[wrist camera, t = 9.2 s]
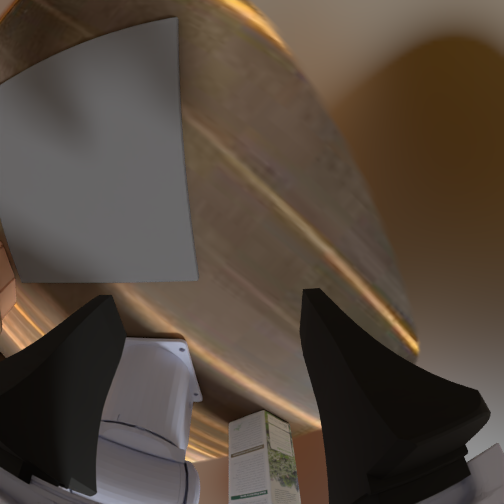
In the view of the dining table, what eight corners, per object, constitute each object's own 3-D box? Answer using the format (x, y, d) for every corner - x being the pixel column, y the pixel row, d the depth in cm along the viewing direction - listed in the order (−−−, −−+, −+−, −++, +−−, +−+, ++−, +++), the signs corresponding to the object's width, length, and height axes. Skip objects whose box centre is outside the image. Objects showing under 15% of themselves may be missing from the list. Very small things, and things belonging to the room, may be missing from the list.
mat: (199, 277, 20) (198, 280, 20) (24, 279, 20) (21, 282, 20) (178, 19, 12) (176, 16, 12) (-12, 95, 12) (-15, 95, 11)
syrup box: (226, 422, 30) (225, 527, 17) (265, 407, 28) (274, 524, 15) (255, 436, 32) (260, 530, 19) (292, 422, 30) (305, 524, 17)
